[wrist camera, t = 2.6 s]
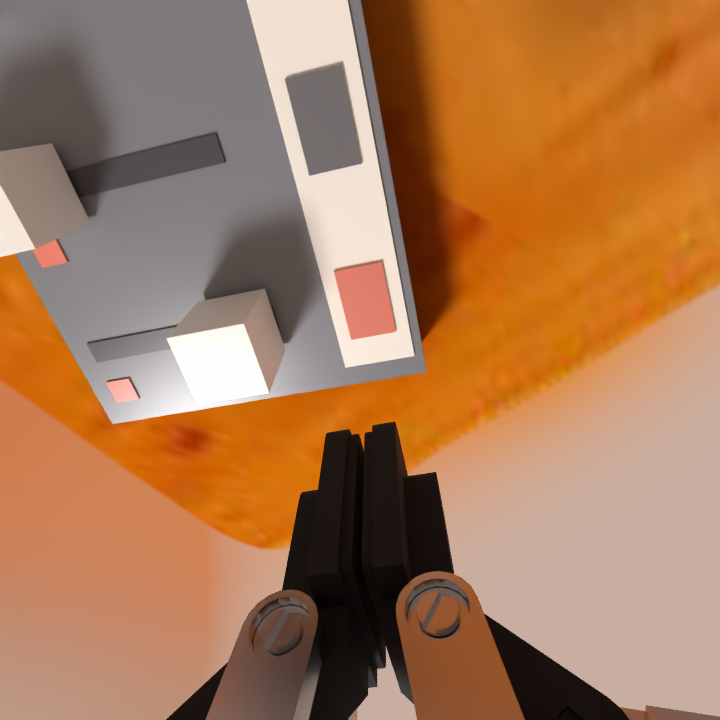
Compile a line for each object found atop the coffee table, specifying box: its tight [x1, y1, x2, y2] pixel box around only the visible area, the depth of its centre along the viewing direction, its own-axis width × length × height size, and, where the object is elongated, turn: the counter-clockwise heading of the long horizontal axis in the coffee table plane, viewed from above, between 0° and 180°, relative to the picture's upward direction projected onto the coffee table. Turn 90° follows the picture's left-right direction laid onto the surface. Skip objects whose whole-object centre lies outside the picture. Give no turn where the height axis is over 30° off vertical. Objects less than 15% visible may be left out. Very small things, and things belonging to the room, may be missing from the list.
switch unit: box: [0, 0, 426, 424], centre depth 19 cm, size 16×22×3 cm
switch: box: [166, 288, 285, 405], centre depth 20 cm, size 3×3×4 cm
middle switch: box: [0, 143, 91, 257], centre depth 17 cm, size 3×3×4 cm
